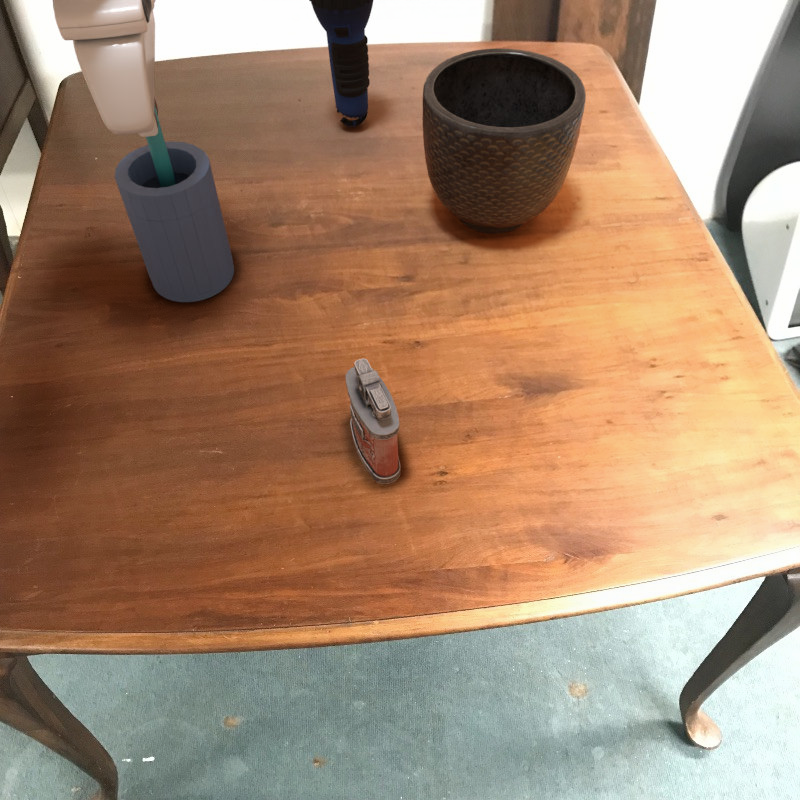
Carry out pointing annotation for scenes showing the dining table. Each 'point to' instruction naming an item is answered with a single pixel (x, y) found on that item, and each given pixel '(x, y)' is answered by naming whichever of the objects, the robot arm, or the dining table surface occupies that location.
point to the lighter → (373, 422)
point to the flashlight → (347, 54)
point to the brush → (161, 157)
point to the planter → (500, 134)
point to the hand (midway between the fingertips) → (149, 123)
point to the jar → (177, 222)
